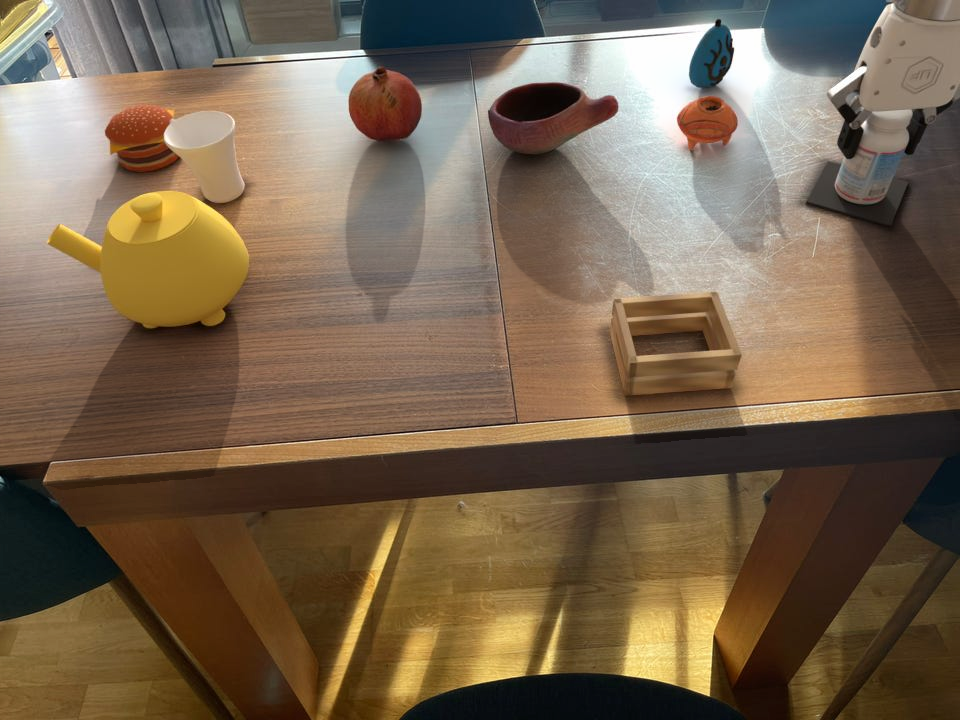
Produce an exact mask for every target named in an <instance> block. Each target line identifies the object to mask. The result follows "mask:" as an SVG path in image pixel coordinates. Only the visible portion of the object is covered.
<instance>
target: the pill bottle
mask: <svg viewBox="0 0 960 720" xmlns="http://www.w3.org/2000/svg"><path fill="white" fill-rule="evenodd" d="M912 111H913V109H910V110H896V111H880V112H872V113H871V114H870V116H869V117H868V118H867V119H866V120H865V122H864V123H863V124H862V125H861V127H862V128H863V129H864V132H863V135H862V138H861V140H860V143H859V145H858V148H857V151H856V153H855V156H854V158H852V159H846V158H845V156H844V155H843V159H842V161H841V167H840V170H839V173H838V176H837V178H836V181H835V189H836V192H837V193H838V195H839V196H840V197H842V198H843V199H845V200H847V201H849V202H852V203H856V204H874V203H877V202H879V201H881V200H882V199H883V198H884V197H885V195H886V193H887V191H888V188H889V186H890V184H891V181H892V179H893V178H894V176H895V174H896V172H897V171H898V167H899V165H900V162H901V160H902V158H903V155H904V154H905V153H904V151H905V149H906V146H907V144H908V141H909V133H908V131H907V129H906V127H907V126H908V125H909V123H910V120H911V118H912V115H913V112H912Z"/></svg>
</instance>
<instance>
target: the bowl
mask: <svg viewBox="0 0 960 720" xmlns="http://www.w3.org/2000/svg"><path fill="white" fill-rule="evenodd" d="M619 107H620V106H619V102H618V99H617V98H616V97H615V95H611V94H607V95H604V96H602V97H599V98H595V99H594V98H590V97H589V96H587V94H586V93H585V91H584V90H583V89H581V88H580V87H577V86H575V85H572V84H569V83H566V82H558V81H549V82H548V81H547V82H531V83H527V84H522V85H519V86H515V87H513V88H510V89H508V90H506V91H505V92H503V93H502V94H501V95H500V96H498V97H497V98H496V99H495V100H494V101H493V103H492V104H491V106H490V108H489V109H487V118H488V123H489V126H490V129H491V131H492V134H493V136H494V137H495V138H496V140H497V141H498V142H499V143H500V144H501V145H502V146H503V147H505V148H506V149H508V150H510V151H511V152H512V151H513V152H515V153H518V154H519V153H520V154H525V155H541V154H545V153H548V152H551V151H553V150H555V149H557V148H559V147H561V146H563V145H564V144H566V143H568V142H569V141H570V140H572V139H574V138H576V137H578V136H579V135H581V134H583V133H584V132H587V131H589V130H591V129H593V128H594V127H596V126H599V125H601V124H603V123H604V122H607V121H609V120H611V119H612V118H613V117H614V116H616V115H617V113H618V112H619Z"/></svg>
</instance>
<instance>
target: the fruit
mask: <svg viewBox="0 0 960 720" xmlns="http://www.w3.org/2000/svg"><path fill="white" fill-rule="evenodd" d="M348 113H349V117H350V119H351V121H352V123H353V124H354V126H355V128H356V130H358V131H359V132H360V133H361V134H362V135H363V136H365V137H366V138H368V139H370V140H373V141H377V142H389V141H400V140H405V139H407V138H409V137H410V136H411V135H412V134H413V133H414V131H415V130H416V129H417V127H418V125H419V123H420V121H421V118H422V116H423V115H422V114H423V104H422V98H421V96H420V93H419V91H418V89H417V87H416V86H415V84H414V83H413V81H412V80H410V78H409V77H407V76H406V75H403V74H402V73H400V72H398V71H393V70H389V69H386V68H385V67H384V66H379V67H378V68H376V69H375V71H373V72H369V73H365V74H363V76H361V77H360V78H359V79H357V80H356V81H355V83H354V85H353V86H352V87H351V89H350V91H349V95H348Z"/></svg>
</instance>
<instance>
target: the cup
mask: <svg viewBox="0 0 960 720" xmlns="http://www.w3.org/2000/svg"><path fill="white" fill-rule="evenodd" d="M235 131H236V122H235V119H234V118H233V117H232V116H231V115H230V114H228V113H225V112H224V111H219V110H201V111H194V112H190V113H187V114H185V115H183V116H181V117H179V118H176V119H175V118H174V119H171V120H170V125H169V126H168V127H167V128H166V130H165V132H164V141H165V144H166V145H167V146H168V147H169V148H170V149H171V150H172V151H173V152H175V153H176V154H177V155H178V156H179V159H181V160H182V161H183V163H184V164H185V166H186V167H187V168H189V170H190V171H191V172H192V174H193V175H194V178H195V179H196V181H197V183H198V186H199V188H200V190H201V192H202V195H203V197H204V198H205V199H206V200H207V201H209V202H211V203H216V204H225V203H230V202H232V201H234V200H236V199H238V198H239V197H240V196H241V195H242V194H243V192H244V190H245V186H246V184H245V181H244V180H243V177H242V175H241V172H240V169H239V165H238V160H237V153H236V145H235Z"/></svg>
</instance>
